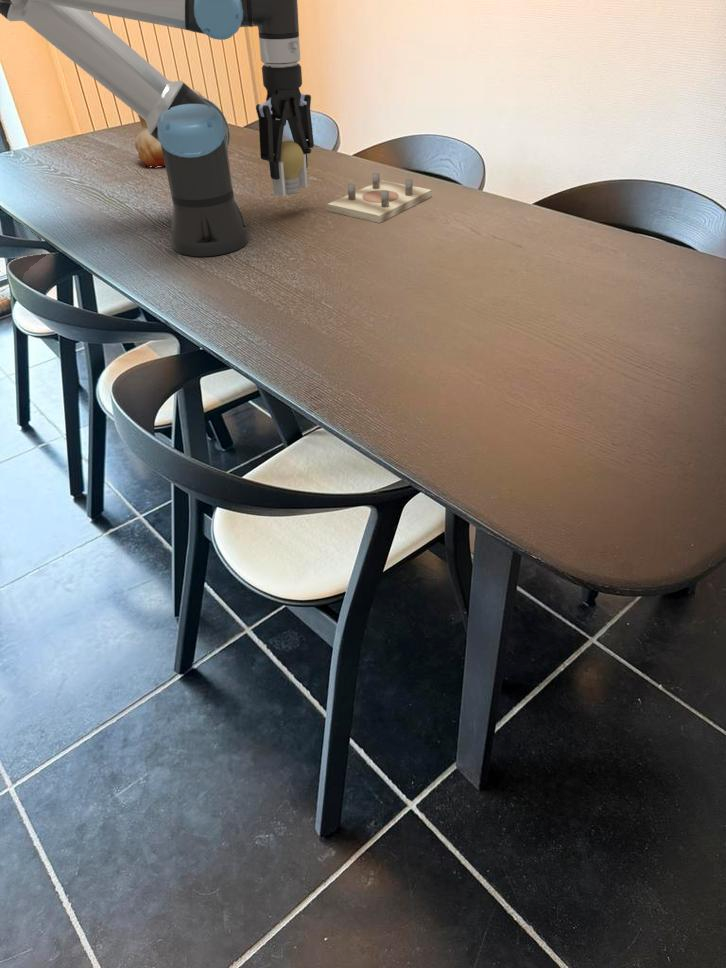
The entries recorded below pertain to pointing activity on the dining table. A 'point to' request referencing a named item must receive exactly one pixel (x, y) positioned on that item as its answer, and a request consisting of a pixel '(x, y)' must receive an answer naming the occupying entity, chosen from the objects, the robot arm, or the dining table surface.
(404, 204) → the pin nest
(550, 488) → the dining table surface
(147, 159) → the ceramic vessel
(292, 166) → the light bulb
